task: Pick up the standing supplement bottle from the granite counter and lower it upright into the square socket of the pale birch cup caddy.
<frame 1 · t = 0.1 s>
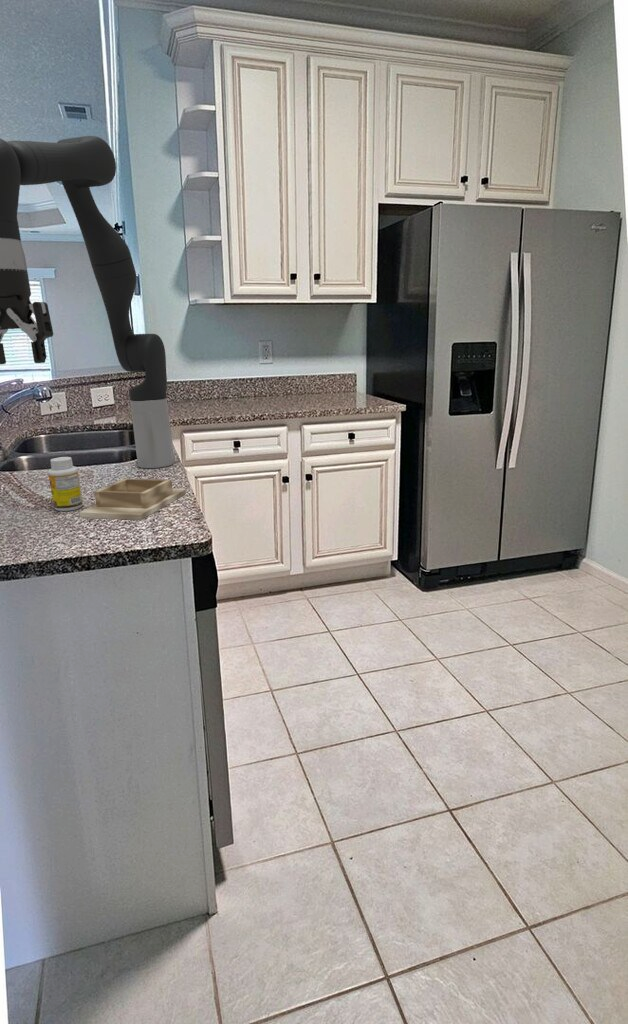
hand: (20, 363, 112), 29 cm above the counter, tool pointing down, fingers open, 8 cm apart
supplement bottle: (69, 509, 125), on the counter
cup caddy: (136, 504, 125), on the counter
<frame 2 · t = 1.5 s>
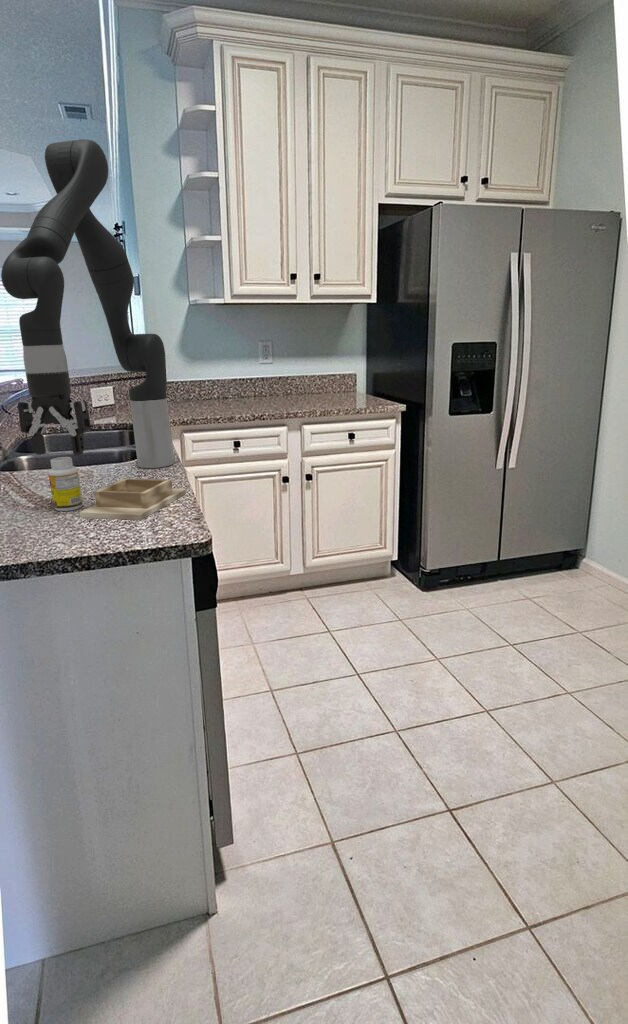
hand: (59, 454, 121), 11 cm above the counter, tool pointing down, fingers open, 8 cm apart
nothing on the counter moved.
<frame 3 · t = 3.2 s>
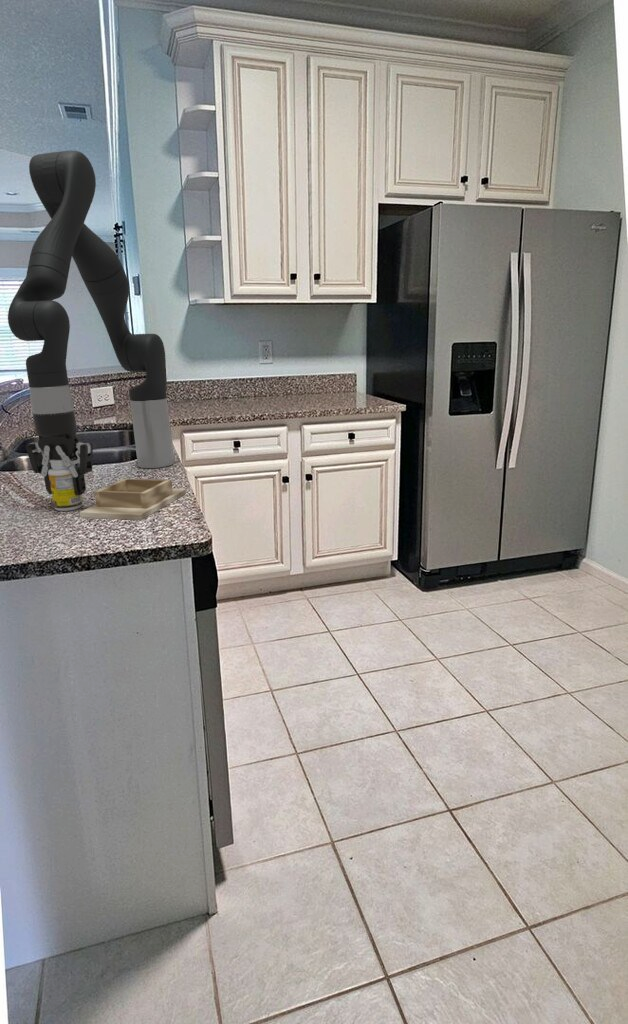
hand: (66, 493, 124), 3 cm above the counter, tool pointing down, fingers closed on supplement bottle, 5 cm apart
supplement bottle: (69, 508, 125), on the counter, touching gripper
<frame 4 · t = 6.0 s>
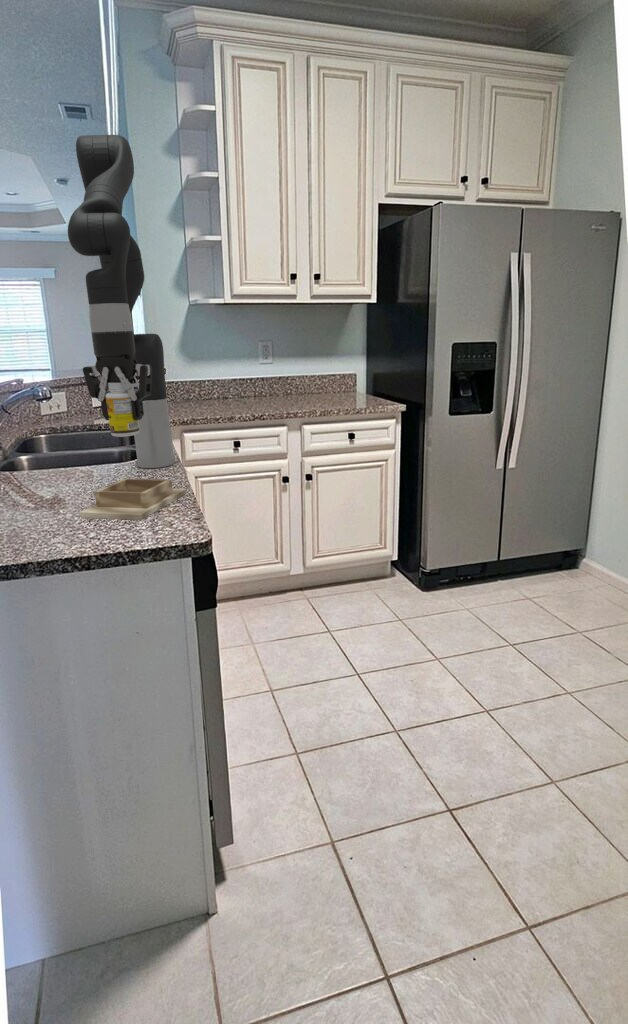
hand: (123, 419, 120), 17 cm above the counter, tool pointing down, fingers closed on supplement bottle, 5 cm apart
supplement bottle: (125, 435, 121), point 14 cm above the counter, touching gripper
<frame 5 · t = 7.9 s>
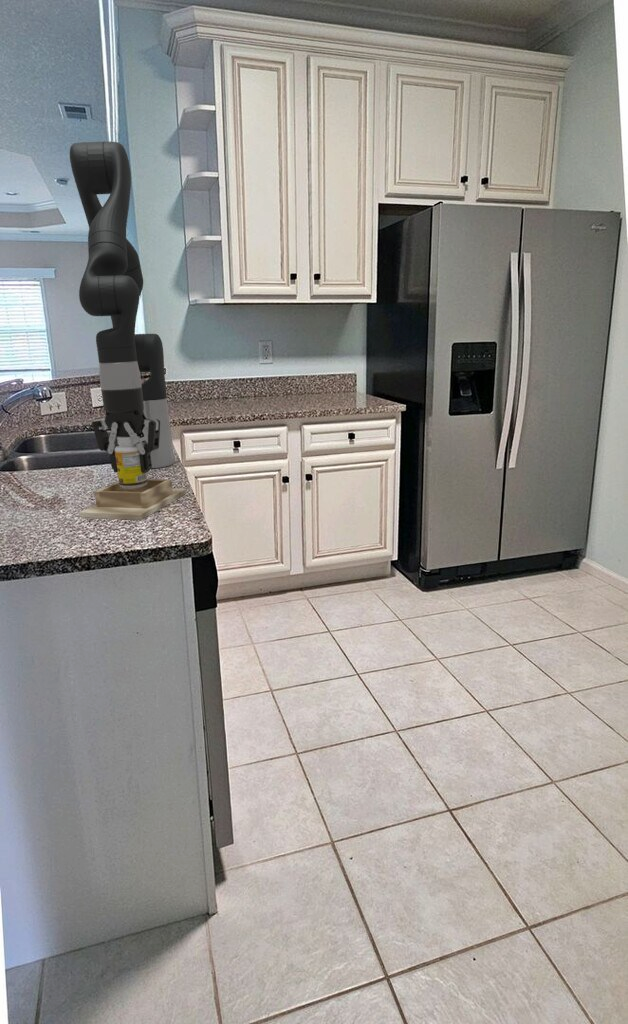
hand: (132, 471, 123), 7 cm above the counter, tool pointing down, fingers closed on supplement bottle, 5 cm apart
supplement bottle: (133, 487, 124), point 4 cm above the counter, touching gripper
when the fingers open (5 cm above the counter, at t = 9.2 s): supplement bottle drops 1 cm, resting on cup caddy.
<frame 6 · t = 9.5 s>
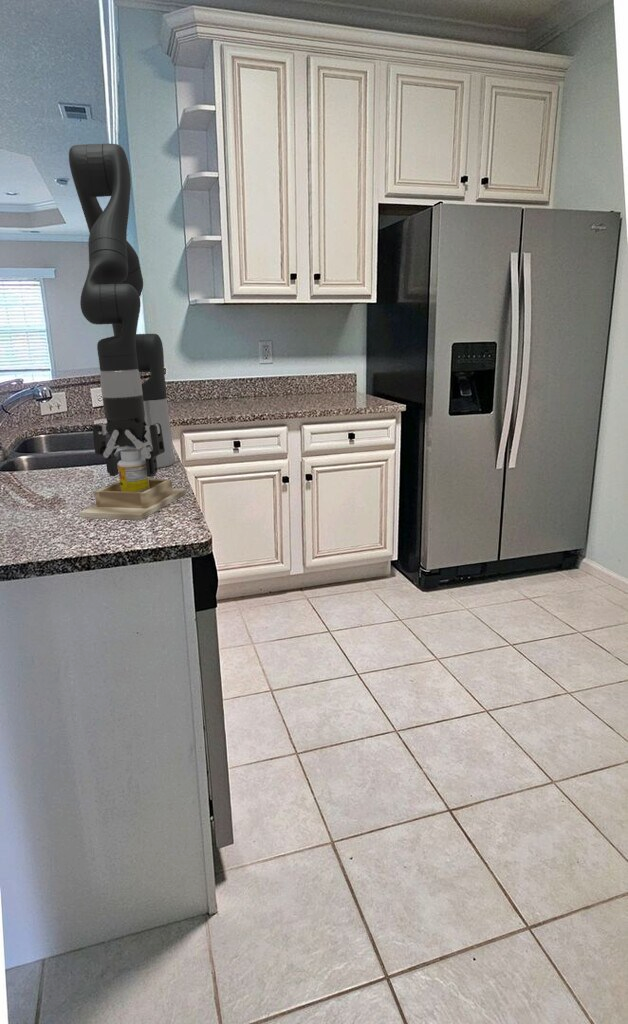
hand: (132, 475, 123), 6 cm above the counter, tool pointing down, fingers open, 8 cm apart
supplement bottle: (136, 500, 125), point 1 cm above the counter, touching cup caddy
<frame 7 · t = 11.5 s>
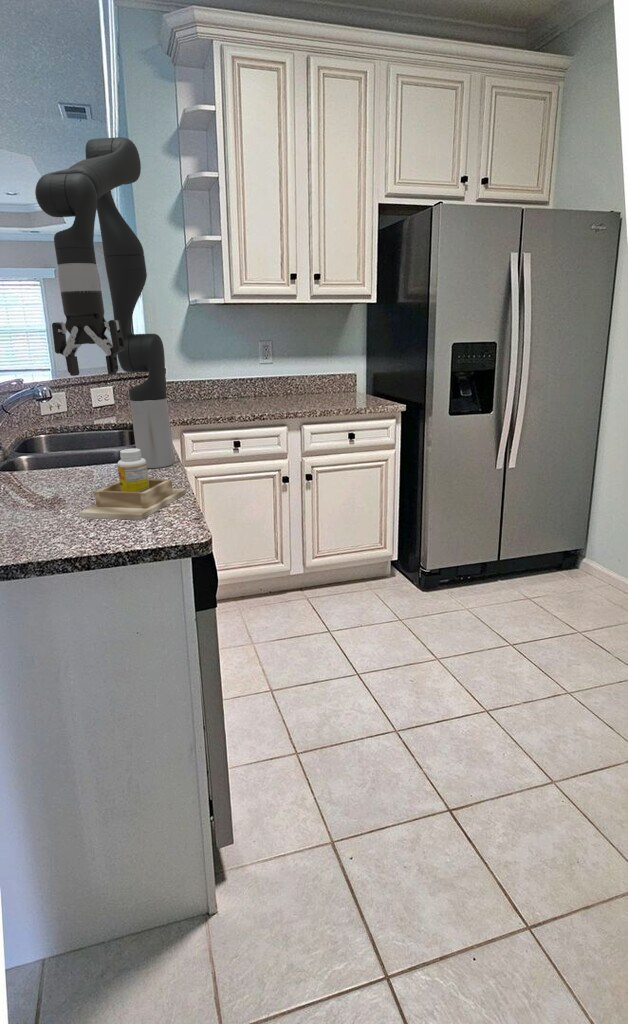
hand: (93, 375, 124), 26 cm above the counter, tool pointing down, fingers open, 8 cm apart
nothing on the counter moved.
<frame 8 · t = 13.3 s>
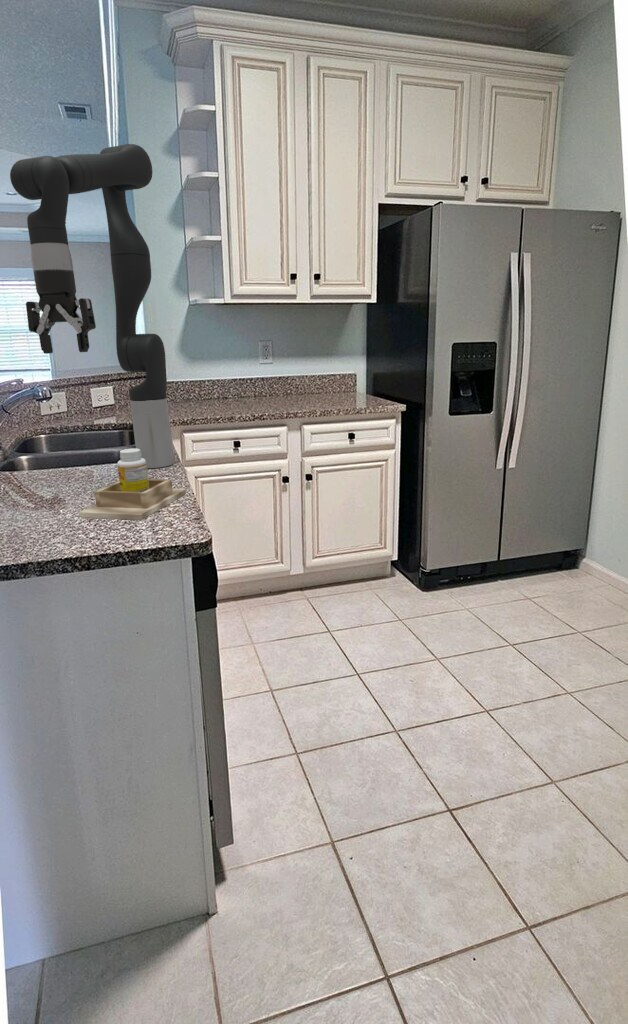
hand: (65, 352, 128), 30 cm above the counter, tool pointing down, fingers open, 8 cm apart
nothing on the counter moved.
at the end: supplement bottle 0.1 cm off-centre on the cup caddy, point 0.8 cm above the cup caddy's base; supplement bottle tilted 0°; the gripper is holding nothing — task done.
